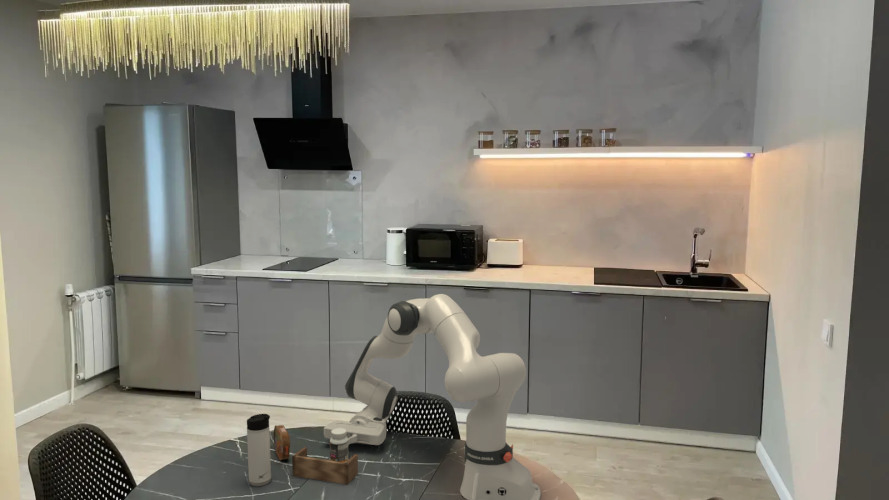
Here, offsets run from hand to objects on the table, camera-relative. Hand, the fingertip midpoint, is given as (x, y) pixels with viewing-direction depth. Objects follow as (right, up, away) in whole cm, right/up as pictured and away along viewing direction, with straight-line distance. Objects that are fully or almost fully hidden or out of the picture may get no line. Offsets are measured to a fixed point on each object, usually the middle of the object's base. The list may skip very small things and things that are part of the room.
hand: (343, 442), depth 201 cm
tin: (-20, -5, +3) cm, 21 cm away
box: (-4, -6, -10) cm, 13 cm away
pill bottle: (-1, -6, -2) cm, 6 cm away
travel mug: (-22, -7, -15) cm, 27 cm away
